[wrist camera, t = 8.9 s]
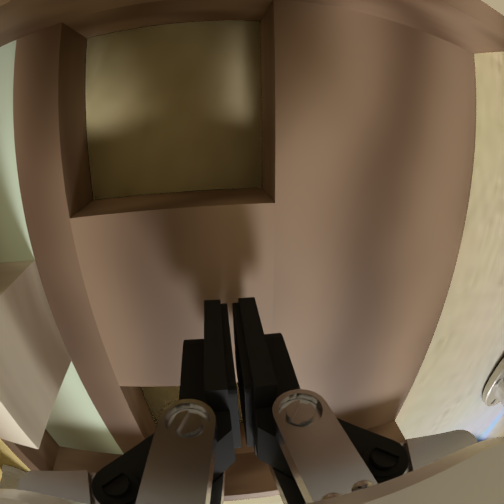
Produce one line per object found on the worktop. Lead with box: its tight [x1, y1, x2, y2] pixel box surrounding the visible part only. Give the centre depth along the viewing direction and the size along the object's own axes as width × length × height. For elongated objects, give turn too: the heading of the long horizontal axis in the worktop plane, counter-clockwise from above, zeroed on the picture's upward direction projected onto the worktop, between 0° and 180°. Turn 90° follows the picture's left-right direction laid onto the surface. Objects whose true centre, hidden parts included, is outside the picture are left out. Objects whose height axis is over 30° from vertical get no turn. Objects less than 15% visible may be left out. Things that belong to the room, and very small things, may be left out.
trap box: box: [0, 0, 504, 501], centre depth 11 cm, size 24×24×6 cm
